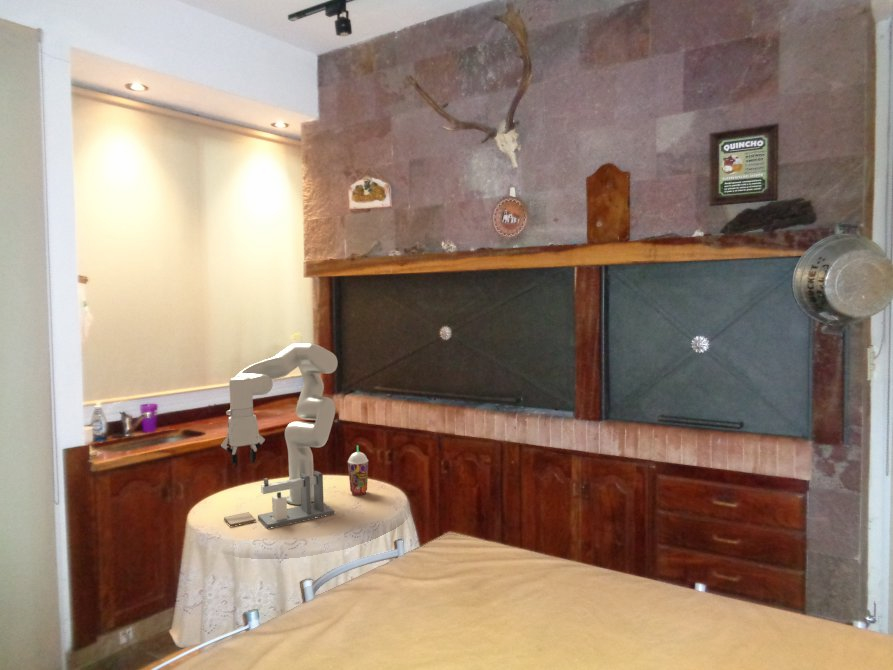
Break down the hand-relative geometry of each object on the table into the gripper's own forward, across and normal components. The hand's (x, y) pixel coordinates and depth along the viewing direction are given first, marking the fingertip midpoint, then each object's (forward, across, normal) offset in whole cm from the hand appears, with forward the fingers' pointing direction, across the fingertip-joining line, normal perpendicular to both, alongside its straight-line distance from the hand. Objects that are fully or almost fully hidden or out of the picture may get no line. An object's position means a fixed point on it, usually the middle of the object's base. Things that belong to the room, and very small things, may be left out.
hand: (244, 463), depth 227 cm
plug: (+24, +12, 0) cm, 26 cm away
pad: (+23, 0, +9) cm, 25 cm away
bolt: (+12, +17, 0) cm, 21 cm away
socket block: (+23, +18, +1) cm, 30 cm away
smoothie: (+24, +49, +12) cm, 56 cm away
